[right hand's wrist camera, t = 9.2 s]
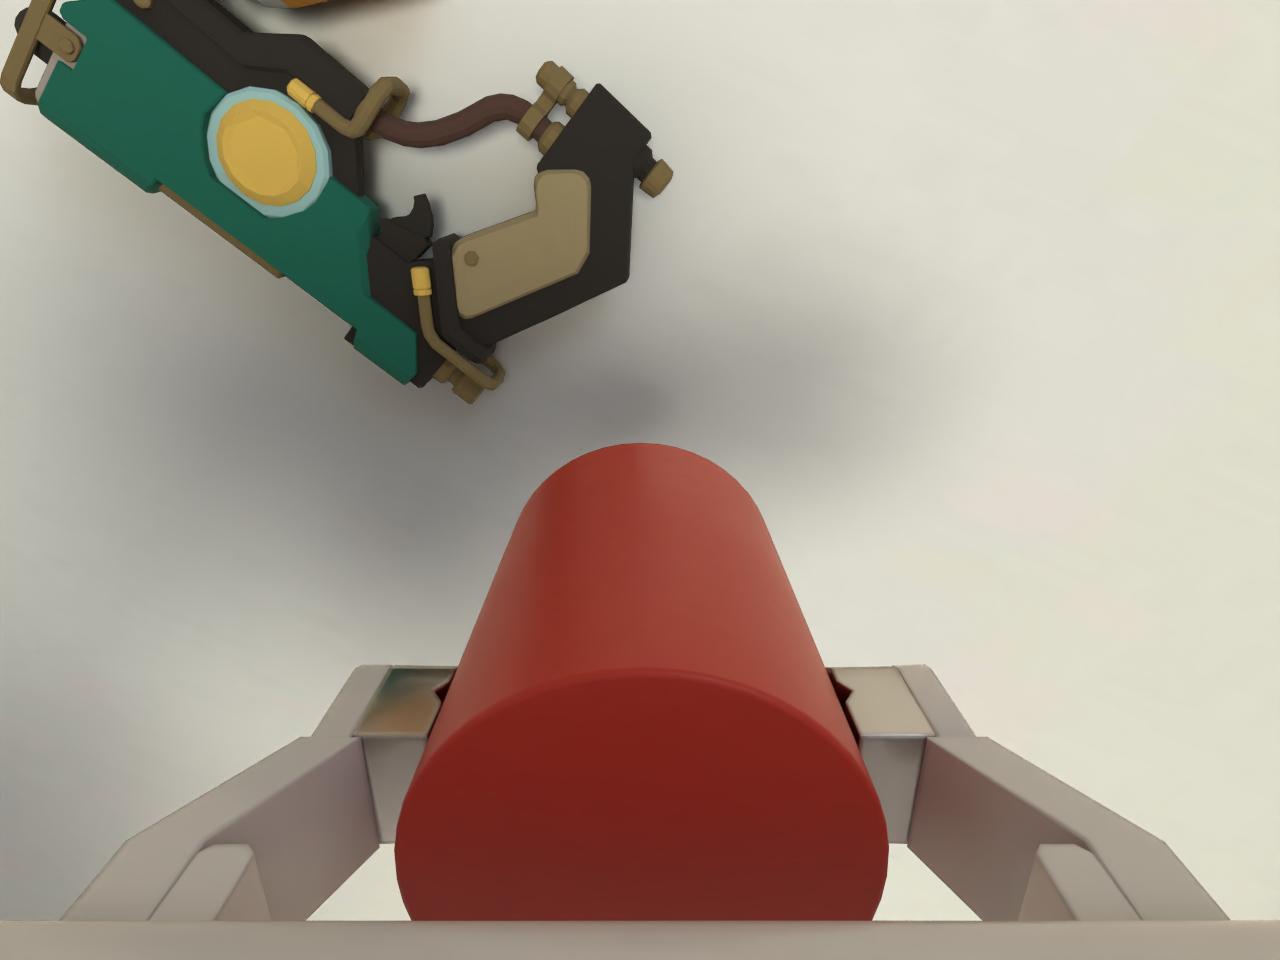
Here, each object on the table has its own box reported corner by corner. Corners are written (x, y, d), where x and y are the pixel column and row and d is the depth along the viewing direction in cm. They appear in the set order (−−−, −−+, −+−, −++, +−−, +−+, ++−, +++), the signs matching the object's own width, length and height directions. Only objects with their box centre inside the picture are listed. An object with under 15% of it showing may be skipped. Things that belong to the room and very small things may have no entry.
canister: (763, 674, 16) (863, 1040, 9) (519, 675, 16) (422, 1042, 9) (778, 440, 14) (923, 669, 7) (500, 442, 14) (356, 673, 7)
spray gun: (707, 234, 24) (383, 453, 28) (381, -325, 18) (21, 41, 22) (720, 248, 20) (341, 501, 24) (313, -455, 14) (-113, 15, 18)
